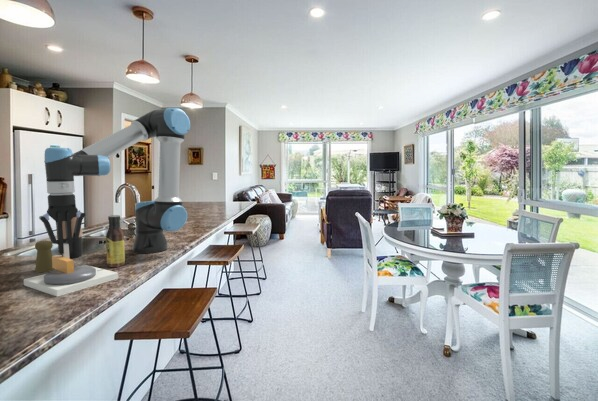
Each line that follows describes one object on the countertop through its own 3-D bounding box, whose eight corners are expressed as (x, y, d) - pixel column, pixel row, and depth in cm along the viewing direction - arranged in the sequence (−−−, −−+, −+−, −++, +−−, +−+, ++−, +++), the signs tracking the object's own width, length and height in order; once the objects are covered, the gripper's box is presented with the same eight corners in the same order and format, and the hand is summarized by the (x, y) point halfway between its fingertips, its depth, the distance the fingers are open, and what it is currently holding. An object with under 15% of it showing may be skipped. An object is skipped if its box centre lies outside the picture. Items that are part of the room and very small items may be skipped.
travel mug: (59, 259, 136) (56, 212, 134) (63, 255, 143) (61, 210, 141) (80, 258, 139) (78, 211, 137) (84, 253, 146) (82, 209, 144)
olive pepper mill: (44, 272, 119) (42, 243, 118) (30, 271, 120) (28, 242, 119) (59, 267, 125) (57, 239, 124) (46, 266, 126) (44, 238, 125)
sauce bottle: (108, 264, 130) (106, 214, 128) (126, 262, 132) (124, 214, 131) (105, 268, 124) (103, 217, 122) (124, 267, 126) (122, 216, 125)
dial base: (85, 269, 123) (84, 264, 122) (118, 278, 113) (118, 272, 113) (23, 285, 106) (23, 278, 106) (57, 296, 97) (56, 289, 96)
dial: (104, 275, 109) (103, 259, 109) (55, 287, 98) (54, 269, 97) (78, 266, 119) (77, 251, 118) (31, 276, 107) (30, 260, 107)
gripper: (39, 195, 103) (45, 268, 105) (86, 193, 112) (91, 260, 115) (35, 194, 108) (40, 264, 110) (80, 192, 118) (85, 256, 120)
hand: (66, 262), depth 113 cm, fingers closed
